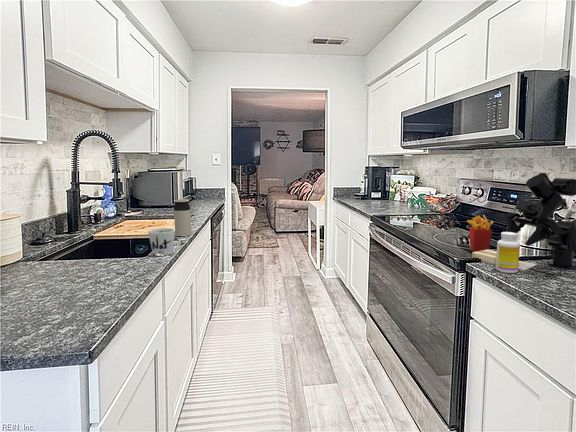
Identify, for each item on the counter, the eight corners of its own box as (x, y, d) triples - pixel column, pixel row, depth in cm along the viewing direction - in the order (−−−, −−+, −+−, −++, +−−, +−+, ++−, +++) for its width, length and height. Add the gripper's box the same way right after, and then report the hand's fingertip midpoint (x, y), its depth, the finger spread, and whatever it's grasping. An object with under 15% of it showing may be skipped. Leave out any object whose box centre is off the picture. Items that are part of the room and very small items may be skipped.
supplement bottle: (521, 274, 131) (524, 235, 129) (499, 273, 132) (501, 234, 130) (514, 268, 137) (516, 231, 136) (493, 267, 139) (495, 231, 137)
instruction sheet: (513, 260, 148) (513, 259, 147) (537, 264, 141) (537, 264, 141) (500, 265, 141) (500, 264, 141) (525, 270, 135) (525, 269, 135)
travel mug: (185, 237, 198) (183, 201, 195) (172, 236, 201) (169, 200, 198) (194, 234, 206) (192, 199, 203) (181, 233, 208) (179, 199, 206)
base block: (487, 255, 155) (487, 249, 154) (509, 260, 147) (510, 254, 146) (471, 258, 150) (472, 252, 150) (494, 264, 143) (494, 257, 142)
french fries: (491, 254, 156) (494, 216, 154) (469, 254, 157) (472, 216, 154) (482, 249, 165) (484, 213, 162) (461, 249, 165) (463, 213, 163)
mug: (147, 258, 159) (146, 233, 157) (152, 249, 173) (151, 227, 172) (175, 256, 161) (173, 232, 159) (177, 248, 175) (176, 225, 174)
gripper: (510, 189, 142) (482, 221, 141) (557, 193, 124) (524, 231, 123) (527, 210, 145) (499, 242, 144) (575, 218, 127) (543, 254, 126)
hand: (515, 241), depth 134 cm, fingers open, 9 cm apart
